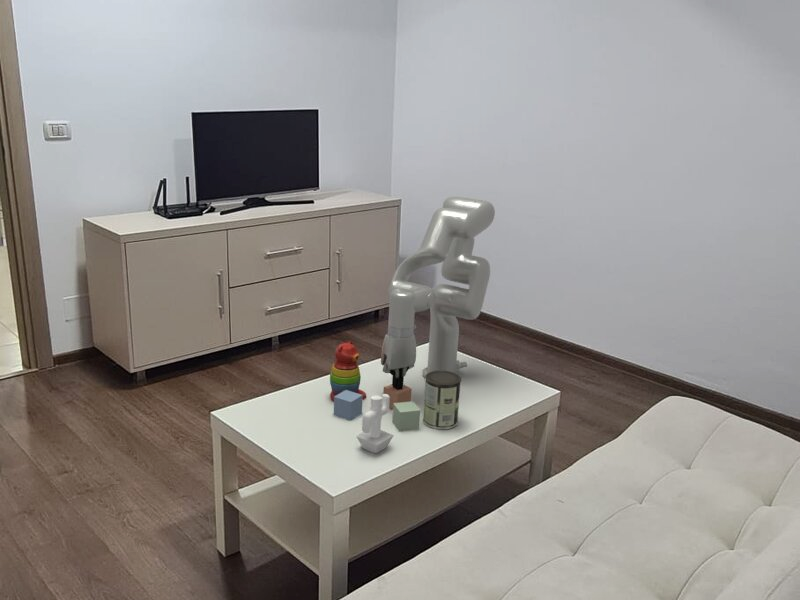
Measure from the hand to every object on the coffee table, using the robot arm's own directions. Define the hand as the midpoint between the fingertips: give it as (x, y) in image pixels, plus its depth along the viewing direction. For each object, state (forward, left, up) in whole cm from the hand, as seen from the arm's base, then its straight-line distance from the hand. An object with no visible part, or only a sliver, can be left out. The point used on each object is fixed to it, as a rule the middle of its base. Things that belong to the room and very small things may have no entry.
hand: (397, 387), depth 224 cm
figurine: (+20, +19, -6) cm, 28 cm away
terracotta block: (0, 0, -6) cm, 6 cm away
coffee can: (-5, +15, -6) cm, 17 cm away
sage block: (+5, +12, -6) cm, 14 cm away
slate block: (+16, -2, -6) cm, 17 cm away
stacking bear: (+11, -12, -6) cm, 17 cm away
